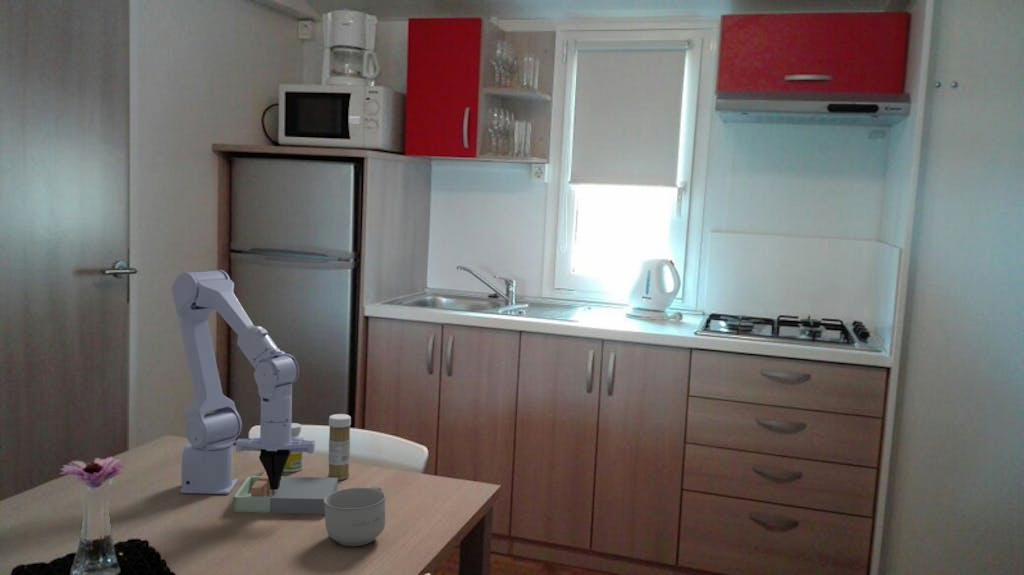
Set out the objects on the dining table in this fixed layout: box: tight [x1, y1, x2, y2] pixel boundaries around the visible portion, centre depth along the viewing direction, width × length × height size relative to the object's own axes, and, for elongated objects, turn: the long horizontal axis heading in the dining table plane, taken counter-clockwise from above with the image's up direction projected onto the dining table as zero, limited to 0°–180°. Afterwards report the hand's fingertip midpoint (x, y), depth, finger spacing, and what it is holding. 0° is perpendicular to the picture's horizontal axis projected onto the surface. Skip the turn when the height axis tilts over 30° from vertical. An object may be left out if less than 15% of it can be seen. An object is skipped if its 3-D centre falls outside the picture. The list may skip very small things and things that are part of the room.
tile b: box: [251, 481, 267, 497], centre depth 164 cm, size 4×4×2 cm
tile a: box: [260, 471, 274, 497], centre depth 169 cm, size 4×4×2 cm
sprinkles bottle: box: [327, 413, 352, 481], centre depth 182 cm, size 5×5×13 cm
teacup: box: [324, 485, 387, 547], centre depth 152 cm, size 14×11×8 cm
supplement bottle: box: [283, 422, 305, 473], centre depth 186 cm, size 5×5×10 cm
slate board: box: [269, 476, 339, 515], centre depth 167 cm, size 11×12×3 cm
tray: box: [232, 475, 283, 514], centre depth 167 cm, size 7×12×3 cm, turn 4°
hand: (275, 487), depth 164 cm, fingers closed
